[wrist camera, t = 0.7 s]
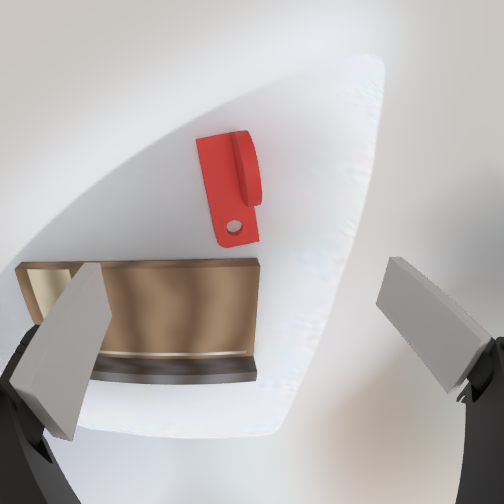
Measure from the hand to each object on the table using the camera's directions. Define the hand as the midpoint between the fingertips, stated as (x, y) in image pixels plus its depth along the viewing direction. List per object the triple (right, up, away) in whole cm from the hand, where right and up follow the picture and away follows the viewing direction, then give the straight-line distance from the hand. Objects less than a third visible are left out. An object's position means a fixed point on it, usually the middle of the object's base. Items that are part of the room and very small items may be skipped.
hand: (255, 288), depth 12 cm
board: (-16, -7, +21) cm, 27 cm away
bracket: (-3, +8, +17) cm, 19 cm away
